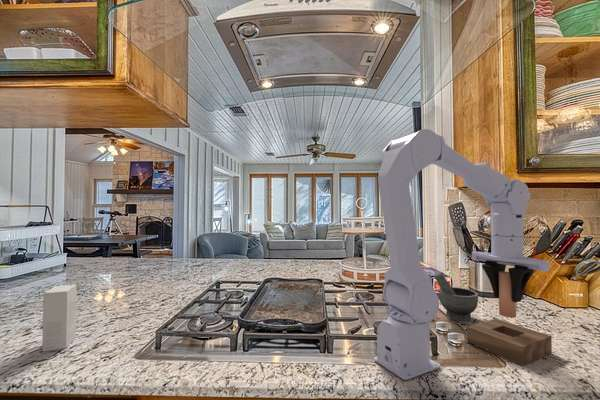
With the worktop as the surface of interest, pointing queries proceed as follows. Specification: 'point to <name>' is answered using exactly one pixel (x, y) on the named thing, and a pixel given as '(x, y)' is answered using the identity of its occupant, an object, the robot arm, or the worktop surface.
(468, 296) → the mortar and pestle
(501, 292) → the peg
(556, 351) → the worktop surface
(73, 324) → the skincare box
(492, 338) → the walnut stand
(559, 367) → the worktop surface
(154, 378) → the worktop surface
